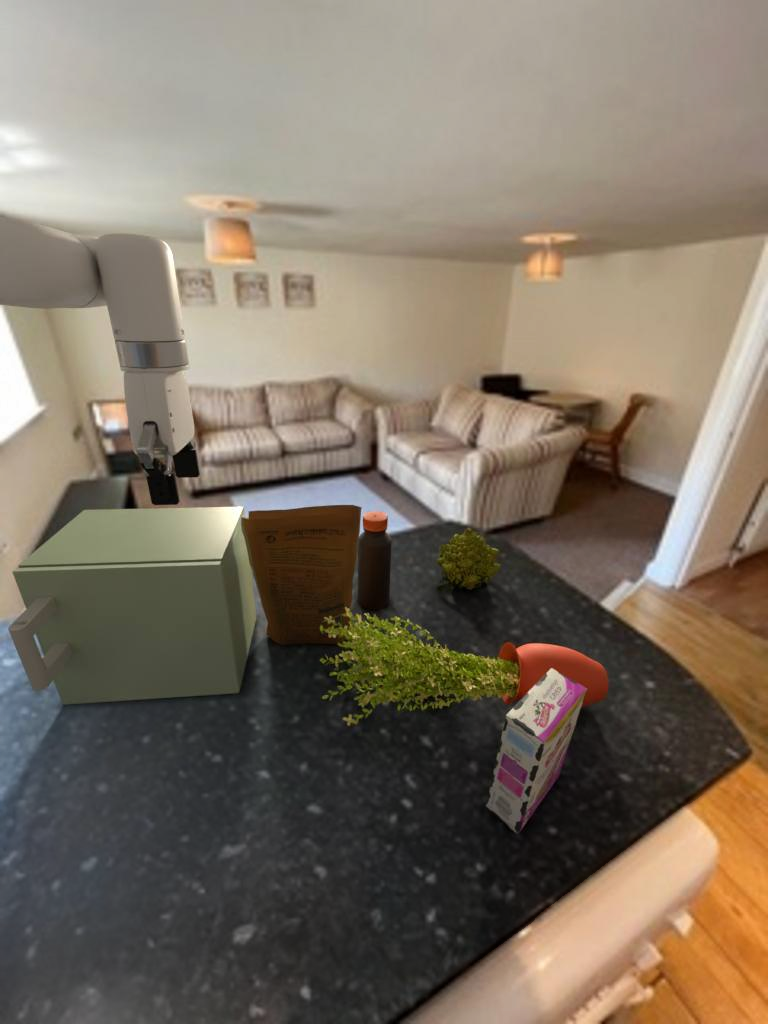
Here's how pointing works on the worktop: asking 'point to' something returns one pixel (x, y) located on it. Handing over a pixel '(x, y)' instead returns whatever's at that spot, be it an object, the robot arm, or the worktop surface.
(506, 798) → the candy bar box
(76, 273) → the robot arm
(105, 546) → the cabinet
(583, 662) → the potted plant
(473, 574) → the vegetable
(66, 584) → the door
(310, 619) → the pancake mix bag
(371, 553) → the bottle
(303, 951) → the worktop surface
